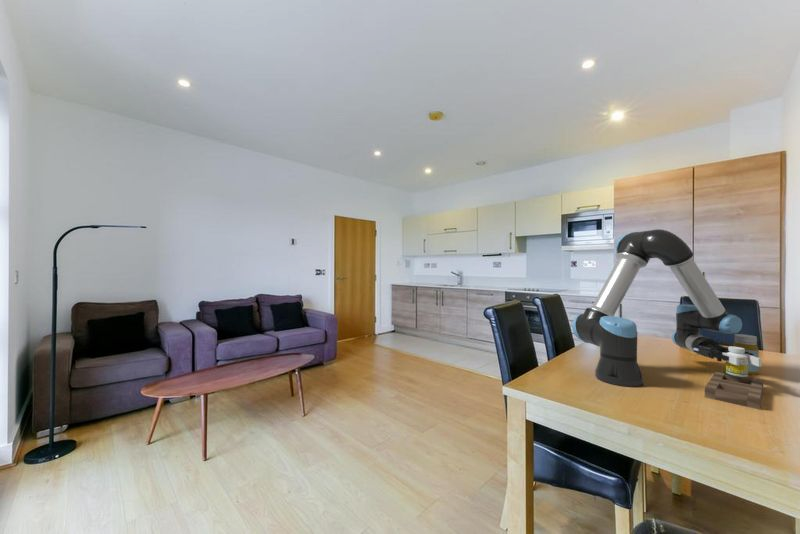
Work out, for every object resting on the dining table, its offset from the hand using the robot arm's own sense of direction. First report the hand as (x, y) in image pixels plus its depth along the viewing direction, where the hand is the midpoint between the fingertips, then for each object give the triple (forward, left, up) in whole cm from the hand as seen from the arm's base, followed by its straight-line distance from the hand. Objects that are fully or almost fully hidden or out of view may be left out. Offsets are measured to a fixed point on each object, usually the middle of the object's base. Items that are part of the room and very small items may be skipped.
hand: (748, 362), depth 107 cm
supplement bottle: (+1, +5, -6) cm, 8 cm away
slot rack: (-4, +1, -11) cm, 11 cm away
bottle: (+23, +22, -11) cm, 34 cm away
